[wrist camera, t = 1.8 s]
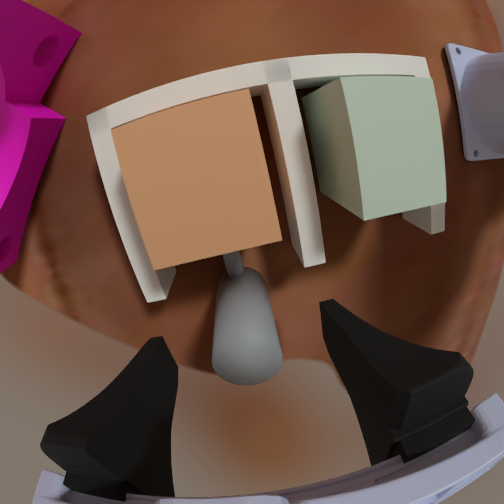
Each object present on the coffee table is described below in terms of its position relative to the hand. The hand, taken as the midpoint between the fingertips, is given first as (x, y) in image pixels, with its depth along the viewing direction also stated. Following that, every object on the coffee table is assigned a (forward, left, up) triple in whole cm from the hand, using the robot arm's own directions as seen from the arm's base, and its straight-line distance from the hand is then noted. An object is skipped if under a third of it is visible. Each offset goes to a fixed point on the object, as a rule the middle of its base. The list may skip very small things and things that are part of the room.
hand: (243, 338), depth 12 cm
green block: (-7, -7, -5) cm, 11 cm away
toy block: (+11, -13, -5) cm, 18 cm away
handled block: (0, -4, -4) cm, 6 cm away
